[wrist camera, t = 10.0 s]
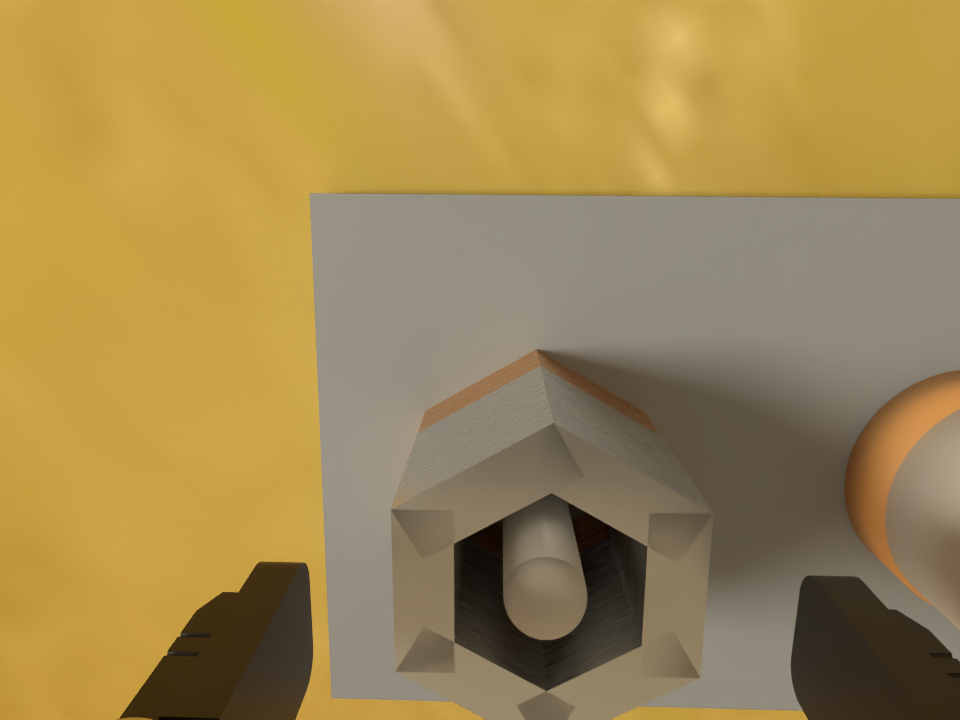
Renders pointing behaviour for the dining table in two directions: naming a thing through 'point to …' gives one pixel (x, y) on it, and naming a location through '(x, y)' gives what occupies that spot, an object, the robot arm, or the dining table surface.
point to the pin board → (657, 398)
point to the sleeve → (599, 535)
